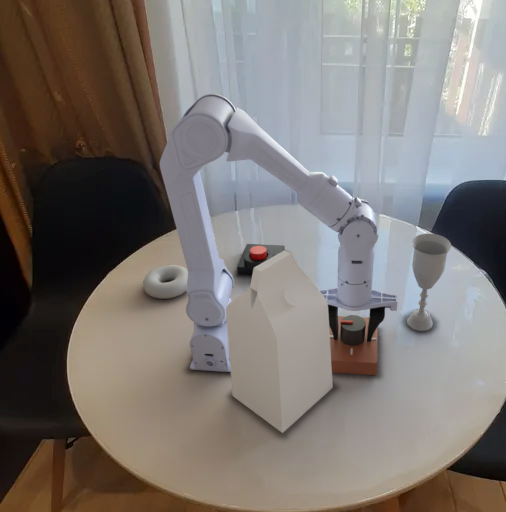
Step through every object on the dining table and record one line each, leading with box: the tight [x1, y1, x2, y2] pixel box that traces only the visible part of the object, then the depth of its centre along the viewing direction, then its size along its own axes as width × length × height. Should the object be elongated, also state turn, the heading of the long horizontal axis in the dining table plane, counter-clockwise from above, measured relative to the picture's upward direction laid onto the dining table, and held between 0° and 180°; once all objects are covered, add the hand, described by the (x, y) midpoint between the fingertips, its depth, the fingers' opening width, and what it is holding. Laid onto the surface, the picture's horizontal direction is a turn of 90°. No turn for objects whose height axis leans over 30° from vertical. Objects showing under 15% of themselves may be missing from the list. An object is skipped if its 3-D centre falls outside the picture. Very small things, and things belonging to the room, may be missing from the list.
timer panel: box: [329, 315, 379, 376], centre depth 88 cm, size 12×9×3 cm
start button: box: [250, 246, 267, 260], centre depth 107 cm, size 4×4×2 cm
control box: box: [236, 243, 286, 277], centre depth 110 cm, size 11×9×4 cm
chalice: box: [406, 233, 452, 332], centre depth 90 cm, size 7×7×18 cm
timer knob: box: [340, 314, 366, 346], centre depth 86 cm, size 4×4×4 cm
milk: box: [226, 249, 333, 434], centre depth 73 cm, size 12×12×26 cm
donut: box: [142, 264, 188, 300], centre depth 103 cm, size 10×4×10 cm
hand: (352, 337), depth 87 cm, fingers open, 5 cm apart
